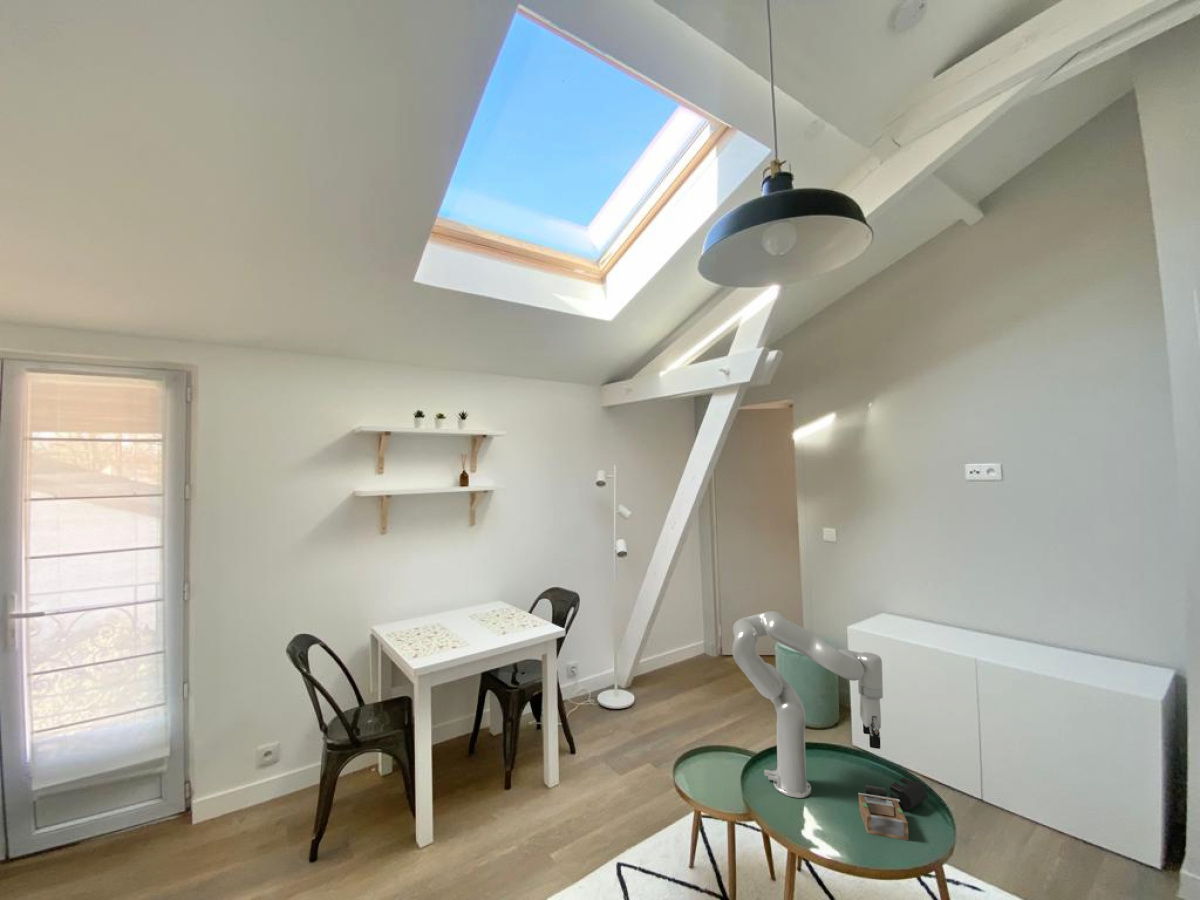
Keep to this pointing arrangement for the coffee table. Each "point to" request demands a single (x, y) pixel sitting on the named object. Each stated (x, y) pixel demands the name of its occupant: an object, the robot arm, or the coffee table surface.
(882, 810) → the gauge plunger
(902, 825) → the wood and grey box
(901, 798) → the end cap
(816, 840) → the coffee table surface
